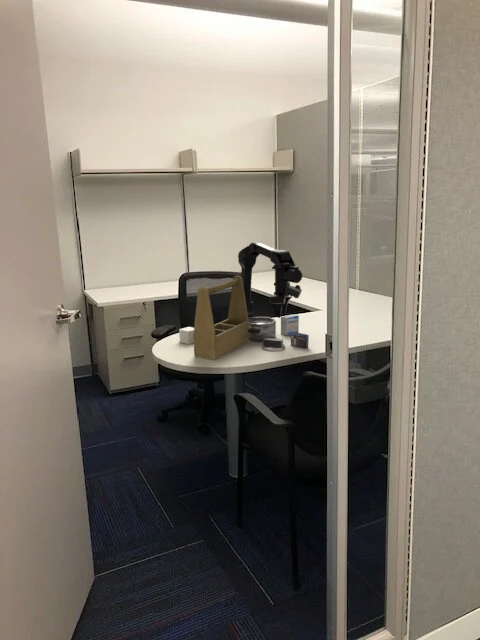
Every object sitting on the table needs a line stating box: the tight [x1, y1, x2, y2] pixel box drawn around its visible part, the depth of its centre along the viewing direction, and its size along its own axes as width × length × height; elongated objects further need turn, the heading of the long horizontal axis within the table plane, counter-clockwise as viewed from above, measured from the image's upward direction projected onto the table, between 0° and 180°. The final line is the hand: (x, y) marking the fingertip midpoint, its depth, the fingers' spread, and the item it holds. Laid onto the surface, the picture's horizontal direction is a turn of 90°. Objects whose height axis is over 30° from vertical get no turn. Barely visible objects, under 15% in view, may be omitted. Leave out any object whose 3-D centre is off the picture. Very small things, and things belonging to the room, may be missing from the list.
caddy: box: [193, 275, 249, 361], centre depth 217 cm, size 29×11×30 cm, turn 151°
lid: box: [260, 338, 286, 352], centre depth 221 cm, size 10×10×4 cm
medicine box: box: [280, 314, 300, 336], centre depth 242 cm, size 8×4×9 cm, turn 129°
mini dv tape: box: [290, 332, 310, 350], centre depth 222 cm, size 8×2×6 cm, turn 48°
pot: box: [248, 316, 277, 343], centre depth 236 cm, size 14×19×8 cm
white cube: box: [179, 326, 194, 345], centre depth 232 cm, size 6×6×6 cm
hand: (281, 315), depth 224 cm, fingers open, 9 cm apart
